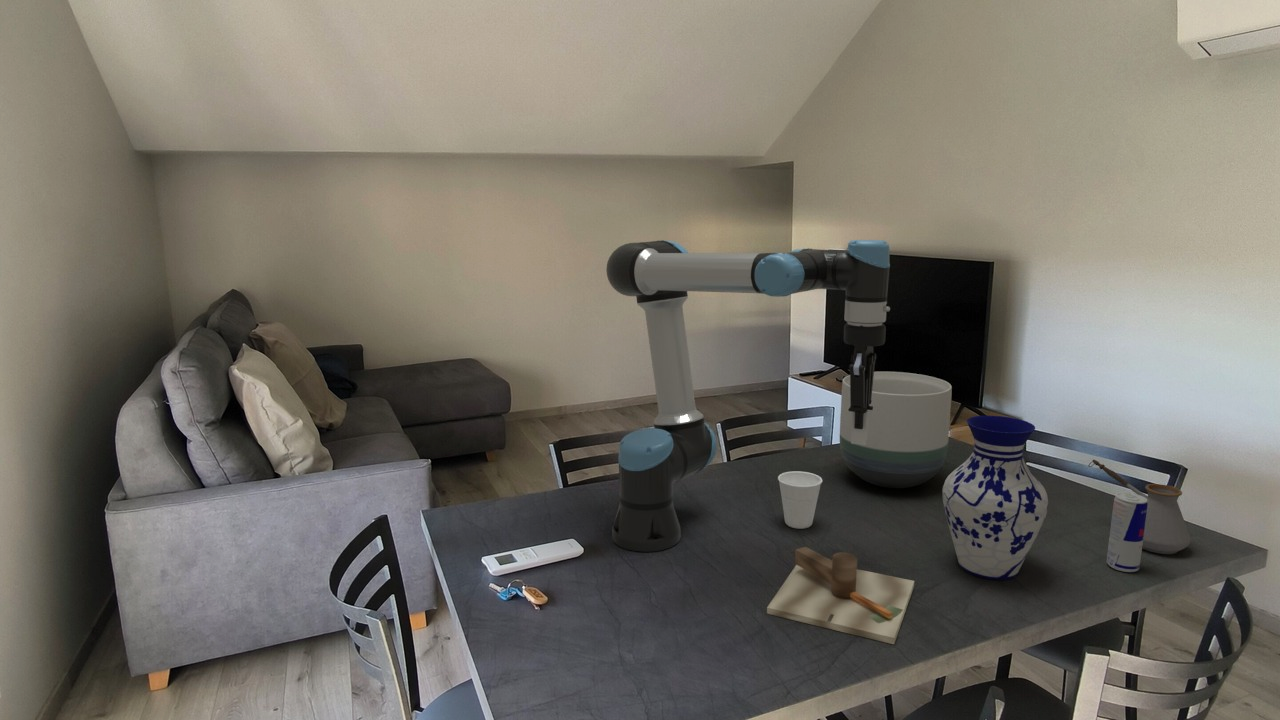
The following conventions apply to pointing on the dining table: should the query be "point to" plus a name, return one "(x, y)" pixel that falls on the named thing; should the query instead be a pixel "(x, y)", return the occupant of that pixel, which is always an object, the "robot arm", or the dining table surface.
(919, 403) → the planter
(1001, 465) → the vase
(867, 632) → the cream flat square slab
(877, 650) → the dining table surface
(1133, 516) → the beverage can
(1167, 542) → the coffee pot
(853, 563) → the wooden mallet
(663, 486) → the robot arm
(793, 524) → the cup
